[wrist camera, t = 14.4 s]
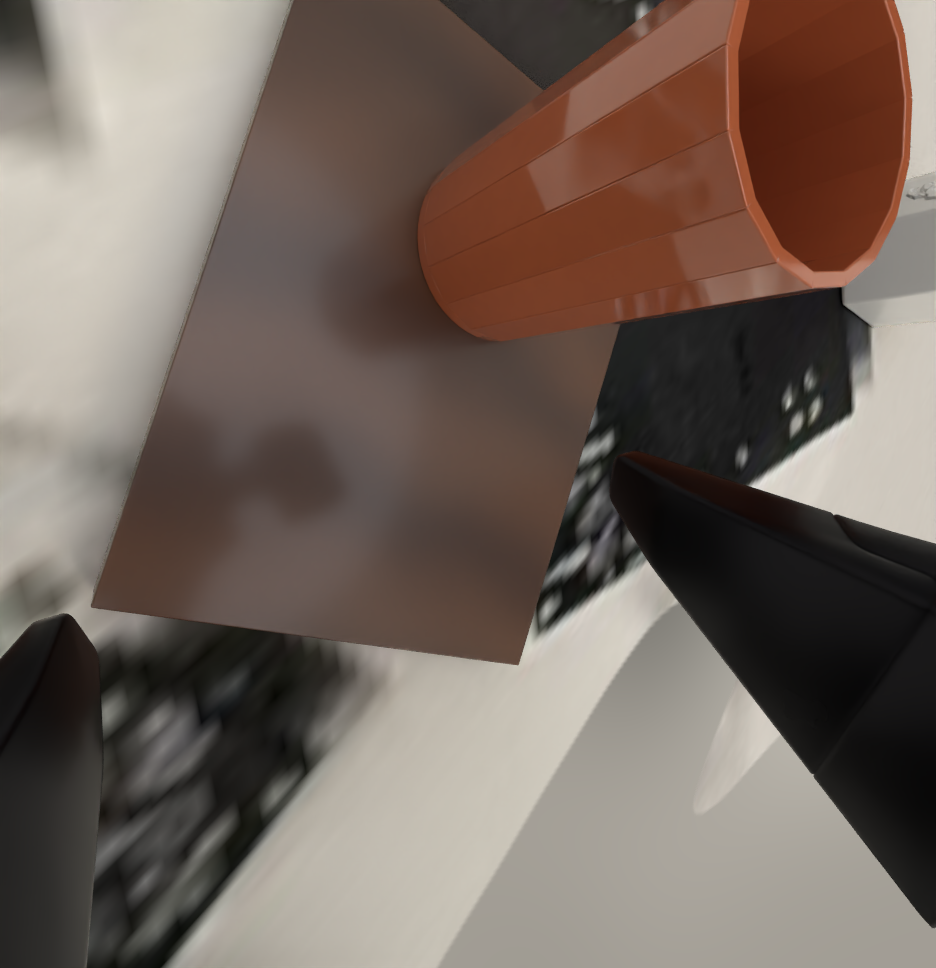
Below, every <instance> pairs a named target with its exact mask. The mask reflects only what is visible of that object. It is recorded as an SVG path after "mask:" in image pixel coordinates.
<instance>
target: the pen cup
mask: <svg viewBox="0 0 936 968" xmlns="http://www.w3.org/2000/svg"><path fill="white" fill-rule="evenodd" d="M903 31H904V29H903V26H902V23H901V20H900V17H899V14H898V11H897V7H896V4H895V1H894V0H665V1H663V2H662V3H661V4H659V5H658V6H657V7H655V8H654V9H653V10H651V11H650V12H649V13H647V14H646V15H645V16H643V17H642V18H641V19H639V20H638V21H637V22H635V23H634V24H633V25H631V26H630V27H629V28H627V29H626V30H625V31H623V32H622V33H621V34H619V35H618V36H617V37H615V38H614V39H613V40H611V41H610V42H609V43H607V44H606V45H605V46H603V47H602V48H601V49H599V50H598V51H597V52H595V53H594V54H593V55H591V56H590V57H589V58H587V59H586V60H585V61H583V62H582V63H581V64H579V65H578V66H577V67H575V68H574V69H573V70H571V71H570V72H569V73H567V74H566V75H565V76H563V77H562V78H561V79H559V80H558V81H557V82H555V83H554V84H553V85H551V86H550V87H549V88H547V89H546V90H545V91H544V92H542V93H541V94H540V95H538V96H537V97H536V98H534V99H533V100H532V101H530V102H529V103H528V104H526V105H525V106H524V107H522V108H521V109H520V110H518V111H517V112H516V113H514V114H513V115H512V116H510V117H509V118H508V119H506V120H505V121H504V122H502V123H501V124H500V125H498V126H497V127H496V128H494V129H493V130H492V131H490V132H489V133H488V134H486V135H485V136H484V137H482V138H481V139H480V140H478V141H477V142H476V143H474V144H473V145H472V146H470V147H469V148H468V149H466V150H465V151H464V152H462V153H461V154H460V155H458V156H457V157H456V158H454V159H453V160H452V161H451V162H450V164H449V165H448V166H447V167H446V168H445V169H443V170H442V171H441V172H440V173H439V175H438V176H437V177H436V178H435V179H434V181H433V182H432V184H431V186H430V187H429V189H428V191H427V193H426V196H425V198H424V200H423V204H422V207H421V210H420V216H419V222H418V236H417V239H418V252H419V258H420V263H421V267H422V271H423V274H424V277H425V280H426V282H427V284H428V287H429V289H430V291H431V293H432V295H433V296H434V298H435V300H436V302H437V303H438V304H439V306H440V307H441V309H442V310H443V311H444V312H445V313H446V315H447V316H448V317H449V318H450V319H451V320H452V321H453V322H455V323H456V324H457V325H458V326H459V327H461V328H462V329H464V330H465V331H467V332H468V333H470V334H472V335H474V336H476V337H479V338H482V339H485V340H489V341H496V342H507V341H513V340H522V339H531V338H537V337H543V336H549V335H555V334H561V333H567V332H573V331H579V330H585V329H591V328H597V327H603V326H609V325H615V324H622V323H628V322H634V321H640V320H646V319H652V318H658V317H664V316H670V315H676V314H682V313H688V312H694V311H700V310H706V309H713V308H719V307H725V306H731V305H737V304H743V303H749V302H755V301H761V300H767V299H773V298H779V297H785V296H791V295H797V294H804V293H810V292H816V291H822V290H828V289H834V288H840V287H844V286H846V285H848V284H849V283H850V282H851V281H852V280H853V279H854V278H856V277H857V276H858V275H859V274H860V273H861V272H863V271H864V270H865V269H866V268H867V267H868V266H870V265H871V264H872V263H873V262H874V260H876V258H877V256H878V254H879V252H880V250H881V248H882V246H883V244H884V242H885V240H886V238H887V236H888V234H889V232H890V230H891V228H892V226H893V224H894V222H895V220H896V217H897V214H898V210H899V205H900V201H901V197H902V192H903V188H904V184H905V179H906V175H907V170H908V166H909V160H910V140H911V117H912V98H911V97H912V90H911V82H910V74H909V66H908V58H907V50H906V42H905V34H904V32H903Z"/></svg>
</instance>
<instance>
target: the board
mask: <svg viewBox="0 0 936 968" xmlns="http://www.w3.org/2000/svg"><path fill="white" fill-rule="evenodd" d="M542 92H544V91H543V90H542V89H541V88H540V87H539V86H537V85H536V84H535V83H534V82H533V81H532V80H531V79H529V78H528V77H527V76H526V75H525V74H524V73H522V72H521V71H520V70H519V69H518V68H517V67H516V66H514V65H513V64H512V63H511V62H510V61H509V60H507V59H506V58H505V57H504V56H503V55H502V54H501V53H499V52H498V51H497V50H496V49H495V48H494V47H492V46H491V45H490V44H489V43H488V42H487V41H486V40H484V39H483V38H482V37H481V36H480V35H479V34H477V33H476V32H475V31H474V30H473V29H472V28H471V27H469V26H468V25H467V24H466V23H465V22H464V21H462V20H461V19H460V18H459V17H458V16H457V15H456V14H454V13H453V12H452V11H451V10H450V9H449V8H447V7H446V6H445V5H444V4H443V3H442V2H441V1H439V0H291V1H290V4H289V7H288V10H287V13H286V16H285V19H284V22H283V25H282V28H281V31H280V34H279V37H278V40H277V43H276V46H275V49H274V52H273V55H272V58H271V61H270V64H269V67H268V70H267V73H266V76H265V79H264V82H263V85H262V88H261V91H260V94H259V97H258V100H257V103H256V106H255V109H254V112H253V115H252V118H251V121H250V124H249V127H248V130H247V133H246V136H245V139H244V142H243V145H242V148H241V151H240V154H239V157H238V160H237V162H236V165H235V168H234V171H233V174H232V177H231V180H230V183H229V186H228V189H227V192H226V195H225V198H224V201H223V204H222V207H221V210H220V213H219V216H218V219H217V222H216V225H215V228H214V231H213V234H212V237H211V240H210V243H209V246H208V249H207V252H206V255H205V258H204V261H203V264H202V267H201V270H200V273H199V276H198V279H197V282H196V285H195V288H194V291H193V294H192V297H191V300H190V303H189V306H188V309H187V312H186V315H185V318H184V321H183V324H182V327H181V330H180V333H179V336H178V339H177V342H176V345H175V348H174V351H173V354H172V357H171V360H170V363H169V366H168V369H167V372H166V375H165V378H164V381H163V384H162V387H161V390H160V393H159V396H158V399H157V402H156V405H155V408H154V411H153V414H152V417H151V420H150V423H149V426H148V429H147V432H146V435H145V438H144V441H143V444H142V447H141V450H140V453H139V456H138V459H137V462H136V465H135V467H134V470H133V473H132V476H131V479H130V482H129V485H128V488H127V491H126V494H125V497H124V500H123V503H122V506H121V509H120V512H119V515H118V518H117V521H116V524H115V527H114V530H113V533H112V536H111V539H110V542H109V545H108V548H107V551H106V554H105V557H104V560H103V563H102V566H101V569H100V572H99V575H98V578H97V581H96V584H95V587H94V591H93V597H92V603H91V607H92V608H98V609H106V610H113V611H120V612H128V613H135V614H143V615H150V616H157V617H165V618H172V619H180V620H187V621H194V622H202V623H209V624H216V625H224V626H231V627H239V628H246V629H253V630H261V631H268V632H276V633H283V634H290V635H298V636H305V637H313V638H320V639H327V640H335V641H342V642H350V643H357V644H364V645H372V646H379V647H386V648H394V649H401V650H409V651H416V652H423V653H431V654H438V655H446V656H453V657H460V658H468V659H475V660H483V661H490V662H497V663H505V664H512V665H519V662H520V658H521V655H522V652H523V648H524V645H525V642H526V638H527V635H528V632H529V628H530V625H531V622H532V618H533V615H534V612H535V608H536V605H537V601H538V598H539V595H540V591H541V588H542V585H543V581H544V578H545V575H546V571H547V568H548V565H549V561H550V558H551V554H552V551H553V548H554V544H555V541H556V538H557V534H558V531H559V528H560V524H561V521H562V518H563V514H564V511H565V508H566V504H567V501H568V497H569V494H570V491H571V487H572V484H573V481H574V477H575V474H576V471H577V467H578V464H579V461H580V457H581V454H582V450H583V447H584V444H585V440H586V437H587V434H588V430H589V427H590V424H591V420H592V417H593V414H594V410H595V407H596V404H597V400H598V397H599V393H600V390H601V387H602V383H603V380H604V377H605V373H606V370H607V367H608V363H609V360H610V357H611V353H612V350H613V346H614V343H615V340H616V336H617V333H618V330H619V326H620V324H615V325H609V326H603V327H597V328H591V329H585V330H579V331H573V332H567V333H561V334H555V335H549V336H543V337H537V338H531V339H522V340H513V341H507V342H496V341H489V340H485V339H482V338H479V337H476V336H474V335H472V334H470V333H468V332H467V331H465V330H464V329H462V328H461V327H459V326H458V325H457V324H456V323H455V322H453V321H452V320H451V319H450V318H449V317H448V316H447V315H446V313H445V312H444V311H443V310H442V309H441V307H440V306H439V304H438V303H437V302H436V300H435V298H434V296H433V295H432V293H431V291H430V289H429V287H428V284H427V282H426V280H425V277H424V274H423V271H422V267H421V263H420V258H419V252H418V239H417V236H418V222H419V216H420V210H421V207H422V204H423V200H424V198H425V196H426V193H427V191H428V189H429V187H430V186H431V184H432V182H433V181H434V179H435V178H436V177H437V176H438V175H439V173H440V172H441V171H442V170H443V169H445V168H446V167H447V166H448V165H449V164H450V162H451V161H452V160H453V159H454V158H456V157H457V156H458V155H460V154H461V153H462V152H464V151H465V150H466V149H468V148H469V147H470V146H472V145H473V144H474V143H476V142H477V141H478V140H480V139H481V138H482V137H484V136H485V135H486V134H488V133H489V132H490V131H492V130H493V129H494V128H496V127H497V126H498V125H500V124H501V123H502V122H504V121H505V120H506V119H508V118H509V117H510V116H512V115H513V114H514V113H516V112H517V111H518V110H520V109H521V108H522V107H524V106H525V105H526V104H528V103H529V102H530V101H532V100H533V99H534V98H536V97H537V96H538V95H540V94H541V93H542Z"/></svg>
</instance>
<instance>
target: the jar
mask: <svg viewBox="0 0 936 968" xmlns="http://www.w3.org/2000/svg"><path fill="white" fill-rule="evenodd" d="M842 303H843V305H844V306H846V307H847V308H848V309H849V310H851V311H852V312H853V313H855V314H856V315H857V316H859V317H860V318H861V319H863V320H864V321H865V322H866V323H868V324H869V325H870V326H872V327H874V328H878V327H888V326H897V325H907V324H917V323H926V322H936V171H935V172H932V173H928V174H925V175H921V176H918V177H914V178H911V179H907V180H905V184H904V188H903V192H902V197H901V201H900V205H899V210H898V214H897V217H896V220H895V222H894V224H893V226H892V228H891V230H890V232H889V234H888V236H887V238H886V240H885V242H884V244H883V246H882V248H881V250H880V252H879V254H878V256H877V258H876V260H874V262H873V263H872V264H871V265H870V266H868V267H867V268H866V269H865V270H864V271H863V272H861V273H860V274H859V275H858V276H857V277H856V278H854V279H853V280H852V281H851V282H850V283H849V284H848V285H846V286H844V287H842Z"/></svg>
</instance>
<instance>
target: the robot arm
mask: <svg viewBox="0 0 936 968" xmlns="http://www.w3.org/2000/svg"><path fill="white" fill-rule="evenodd" d="M610 498H611V501H612V503H613V505H614V507H615V508H616V510H617V512H618V513H619V515H620V517H621V518H622V520H623V521H624V523H625V525H626V526H627V528H628V530H629V531H630V533H631V534H632V536H633V538H634V539H635V541H636V543H637V544H638V546H639V548H640V549H641V551H642V552H643V554H644V556H645V557H646V559H647V560H648V562H649V563H650V565H651V566H652V568H653V569H654V570H655V572H656V573H657V574H658V576H659V577H660V578H661V580H662V581H663V582H664V584H665V585H666V586H667V587H668V589H669V590H670V591H671V593H672V594H673V595H674V597H675V598H676V599H677V600H678V602H679V603H680V604H681V606H682V607H683V608H684V609H685V611H686V612H687V613H688V615H689V616H690V617H691V619H692V620H693V621H694V622H695V624H696V625H697V626H698V628H699V629H700V630H701V631H702V633H703V634H704V635H705V637H706V638H707V639H708V640H709V642H710V643H711V644H712V646H713V647H714V648H715V650H716V651H717V652H718V653H719V655H720V656H721V657H722V659H723V660H724V661H725V663H726V664H727V665H728V666H729V668H730V669H731V670H732V672H733V673H734V674H735V675H736V677H737V678H738V679H739V681H740V682H741V683H742V685H743V686H744V687H745V688H746V690H747V691H748V692H749V694H750V695H751V696H752V697H753V699H754V700H755V701H756V703H757V704H758V705H759V707H760V708H761V709H762V710H763V712H764V713H765V714H766V716H767V717H768V718H769V719H770V721H771V722H772V723H773V725H774V726H775V727H776V729H777V730H778V731H779V732H780V734H781V735H782V736H783V738H784V739H785V740H786V742H787V743H788V744H789V745H790V747H791V748H792V749H793V751H794V752H795V753H796V754H797V756H798V757H799V758H800V760H802V762H803V763H804V765H805V766H806V767H807V769H808V770H809V771H810V773H812V774H814V778H815V780H816V781H817V782H818V783H819V785H820V786H821V787H822V789H823V790H824V791H825V792H826V794H827V795H828V796H829V798H830V799H831V800H832V801H833V803H834V804H835V805H836V807H837V808H838V809H839V811H840V812H841V813H842V814H843V816H844V817H845V818H846V819H847V821H848V822H849V824H850V825H851V826H852V827H853V828H854V830H855V831H856V833H857V834H858V835H859V836H860V838H861V839H862V840H863V842H864V843H865V844H866V845H867V847H868V848H869V849H870V851H871V852H872V853H873V855H874V856H875V857H876V858H877V860H878V861H879V862H880V864H881V865H882V866H883V867H884V869H885V870H886V871H887V873H888V874H889V875H890V876H891V878H892V879H893V880H894V882H895V883H896V884H897V886H898V887H899V888H900V890H901V891H902V892H903V893H904V895H905V896H906V897H907V899H908V900H909V901H910V903H911V904H912V905H913V906H914V907H915V909H916V910H917V911H918V913H919V914H920V915H921V916H922V918H923V919H924V920H925V921H926V922H927V923H928V924H929V925H930V926H931V927H932V928H936V544H935V543H931V542H928V541H924V540H920V539H917V538H913V537H910V536H906V535H902V534H899V533H895V532H892V531H888V530H885V529H882V528H878V527H875V526H872V525H869V524H865V523H862V522H859V521H856V520H853V519H850V518H846V517H843V516H840V515H833V514H832V513H831V512H828V511H824V510H821V509H818V508H815V507H812V506H809V505H806V504H803V503H799V502H796V501H793V500H790V499H787V498H784V497H781V496H777V495H774V494H771V493H768V492H765V491H762V490H759V489H756V488H752V487H749V486H746V485H743V484H740V483H737V482H734V481H731V480H727V479H724V478H721V477H718V476H715V475H712V474H709V473H706V472H703V471H699V470H696V469H693V468H690V467H687V466H684V465H681V464H678V463H674V462H671V461H668V460H665V459H662V458H659V457H656V456H653V455H649V454H646V453H643V452H640V451H632V452H628V453H625V454H621V455H619V456H617V457H616V458H615V460H614V463H613V469H612V476H611V483H610ZM103 761H104V759H103V729H102V708H101V687H100V666H99V658H98V654H97V652H96V649H95V647H94V646H93V644H92V643H91V642H90V640H89V639H88V637H87V636H86V635H85V633H84V632H83V630H82V629H81V627H80V626H79V625H78V623H77V622H76V620H75V619H74V618H73V617H72V616H71V615H69V614H64V613H63V614H59V615H55V616H51V617H48V618H44V619H41V620H38V621H36V622H34V623H32V624H31V625H30V626H29V627H28V628H27V629H26V630H25V631H24V633H23V634H22V635H21V636H20V637H19V638H18V639H17V641H16V642H15V643H14V644H13V645H12V646H11V647H10V648H9V650H8V651H7V652H6V653H5V654H4V655H3V656H2V657H1V659H0V968H86V966H87V954H88V943H89V931H90V919H91V908H92V896H93V884H94V872H95V861H96V849H97V837H98V826H99V814H100V802H101V790H102V779H103Z"/></svg>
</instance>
